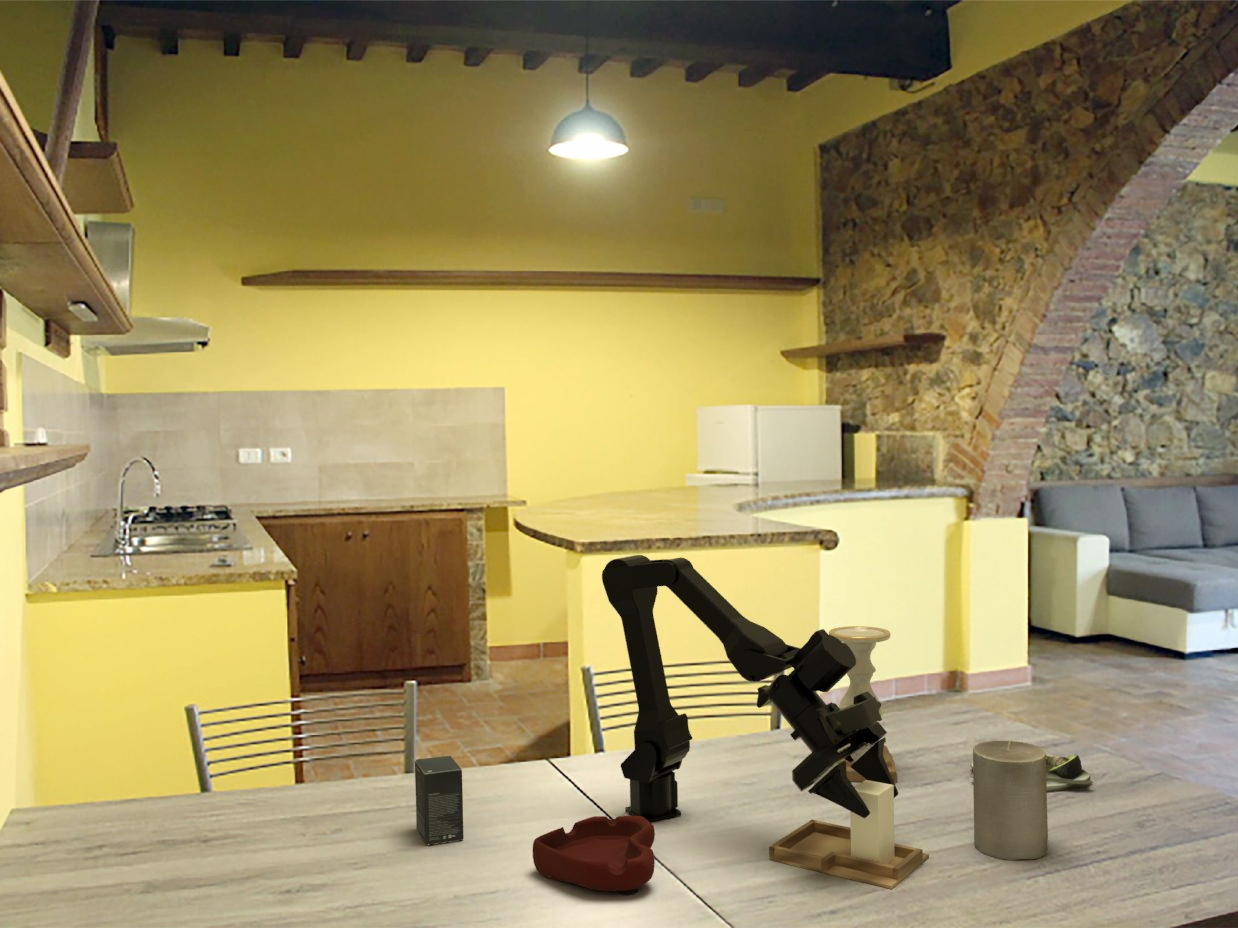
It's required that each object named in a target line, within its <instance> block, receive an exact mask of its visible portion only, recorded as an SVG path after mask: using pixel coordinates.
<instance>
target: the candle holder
mask: <svg viewBox="0 0 1238 928" xmlns="http://www.w3.org/2000/svg"><path fill="white" fill-rule="evenodd" d="M828 635H831V636H834V637H836V638H837V639H839V640H840V641H841V642H843V643H845V644H847V645H848V647H849V648H850V649H851V650H852V652H853V654H854V656H855V658H856V665H855V666H854V667H853V668H852V669H851V670H850V671H849V672H848V673H847V674H846V676H847V677H848V679H849V685H848V687H847V690H846V692H845V693H844V695H843V697H842V698H841V700H840V702H839V704H838V707H839V708H840V709H843V708H846V707H848V706H850V705H853V704H854V697H855V696H857V695H859V694H861V693H864V692H867V691H868V692H869V693H870V694H871V695H872V696H873V697H875V698H876V700H877V701H879V702H880V703H881V701H880V700H879V698H878V696H877V695H876V693H875V692H874V690H873V688H872V685H871V680H872V679H873V678H872V677H873V676H874V673H875V672H876V671H877V669H876V667H875V666H874V665H873V663H872V660H871V654H872V652H873V650H875V647H876V645H877V643H882V642H885V641H888V640H889V639H890V638H891V631H889V630H888V629H885V628H882V627H881V628H880V627H874V626H862V625H861V626H858V625H856V626H855V625H854V626H851V625H850V626H841V627H834V628H831V629H830V630H829V631H828ZM883 712H884V711H883V705H882V704H881V707H880V710H879V713H880V716H881V717H882V716H883ZM889 750H890V749H889V748H888V746H887V745H885V744H884V749H883V757H884V759H885V762H886V765H887V767H888V770H889V772H890V774H891V777H892V779H893V781H894V784H895V783H897V782H898V772H897V767H896V763H895V759H894V758H893V755H892V754H891V753H890V751H889ZM843 761H846V772H847V777H848V779H849V781H850V782H851V783H862V782H863V781H865V780H867V779H865V778H864V777H863V776H861V775H860V774H859V773H857V772H856V771H855V770H854V769H852V768H851V767H850V766H851V765H852V764H853V763H854V762H855V761H853V762H849V761H847V760H845V759H843V760H841V761H839V762H838V764H839V763H841V762H843Z"/></svg>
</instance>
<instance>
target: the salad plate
mask: <svg viewBox="0 0 1238 928" xmlns="http://www.w3.org/2000/svg"><path fill="white" fill-rule="evenodd" d="M969 766H970V767H971V769H972V770H973V761H972V762H971V763H970V765H969ZM970 778H972V779H973V772H971V773H970ZM1046 782H1047V792H1053V791H1067V790H1070V791H1071V790H1078V789H1082V788H1083V787H1085V786H1087V785H1091V784H1094V782H1093V780H1091V774H1090V773H1089V772H1087V770H1084V768H1083V767H1082V760H1081V758H1080V755H1078V754H1073V755H1071V756H1068V757H1065V756H1060V757H1059V756H1057V755H1054V754H1049V753H1046Z"/></svg>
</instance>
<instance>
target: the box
mask: <svg viewBox="0 0 1238 928" xmlns="http://www.w3.org/2000/svg"><path fill="white" fill-rule="evenodd" d="M414 779H415V780H414V782H415V783H414V784H415V814H416V815H415V818H416V821H415V823H416V825H415V826H416V830H417V832H418V834H419V835H420V836H421V838H422V840H423V842H424V844H425V845H426V846H429V845H428V844H434V845H439V844H438V843H442V844H447V843H446V842H449V843H451V842H450V841H456V842H459V841H458V840H462V841H464V807H463V805H464V802H463V801H464V799H463V797H464V796H463V769H462V768H461V767H460V765H458V763H457V762H456V760H455V759H454V758H453V757H452V756H451V755H445V756H436V757H435V756H434V757H428V758H427V757H425V758H418V759H415V760H414Z"/></svg>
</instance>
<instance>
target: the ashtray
mask: <svg viewBox="0 0 1238 928" xmlns="http://www.w3.org/2000/svg"><path fill="white" fill-rule="evenodd" d="M655 835H656V833H655V826H654V824H653V823H651V822H649V821H648V820H647V819H645V818H644V817H642V816H633V815H619V816H618V815H617V816H616V817H615V818H613V819H610V818H608V816H606V815H604V816H603V815H601V816H597V815H596V816H591V817H587V818H584V819H581V820H579V821H576V822H575V823H573V825H572V828H571V830H570V831H568V832H566V831H565V828H564V827H563V826H562V827H559V828H556V829H554V830H552V831H548V832H547V833H544V834H541V835H539V836H537V837H536V838H534V839H533V842H532V860H533V861H532V862H533V864H534V867H535V870H536V871H537V872H538V874H540V875H542V876H544V877H546V878H549V879H552V880H557V881H560V882H565V883H571V884H573V885H574V884H575V885H578V886H580V887H584V888H587V889H590V890H595V891H601V892H603V891H605V892H615V893H616V894H617V895H622V896H631V895H635V894H637V893H639V891H640V888H642V887H644V886H645V885H646V884H647V883H648V882H649V881H651V879H652V878H653V875H654V872H655V864H656V863H655V856H654V855H655V854H654V851H653V849H652V847H653V844H654V842H655V838H656V837H655Z"/></svg>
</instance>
